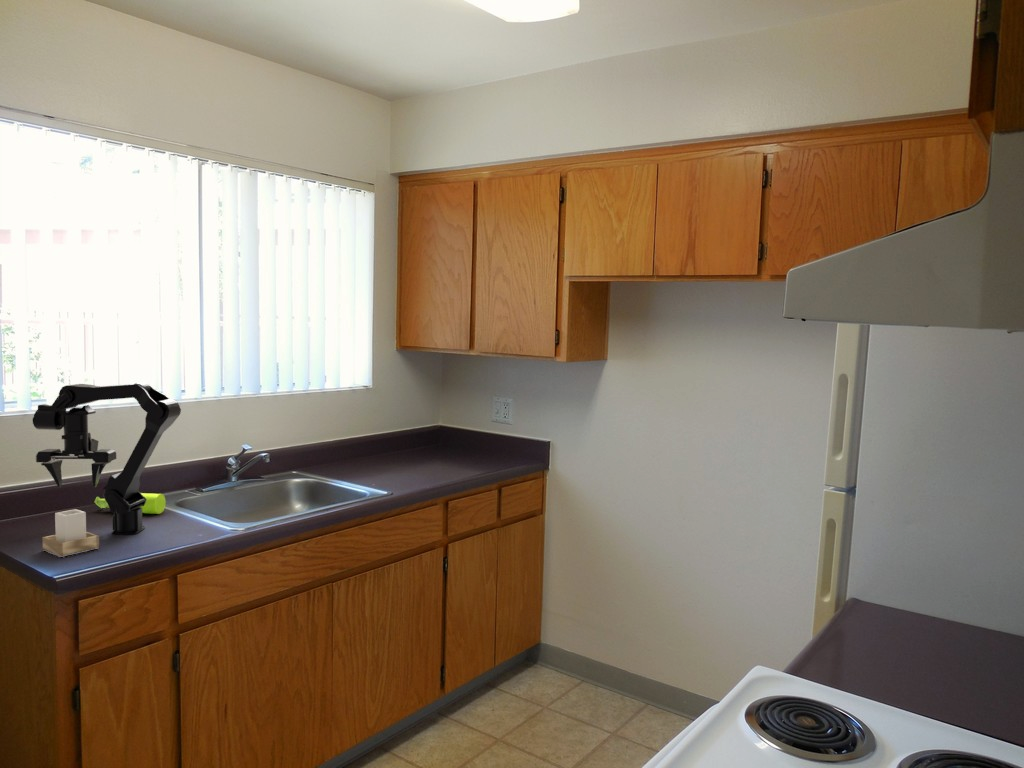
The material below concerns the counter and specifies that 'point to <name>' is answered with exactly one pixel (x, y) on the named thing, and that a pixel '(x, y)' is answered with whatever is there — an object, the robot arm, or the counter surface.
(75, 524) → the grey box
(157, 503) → the soap dispenser
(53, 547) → the pine crate
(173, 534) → the counter surface
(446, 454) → the counter surface
